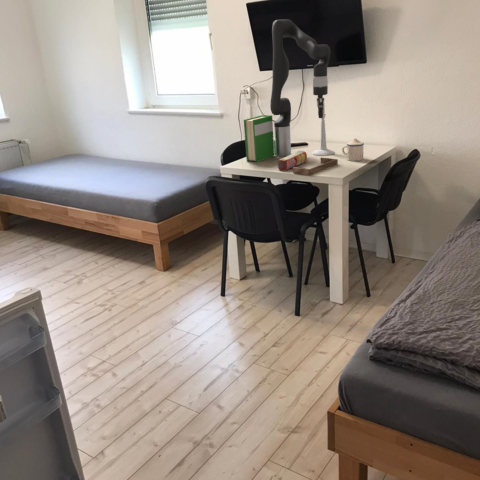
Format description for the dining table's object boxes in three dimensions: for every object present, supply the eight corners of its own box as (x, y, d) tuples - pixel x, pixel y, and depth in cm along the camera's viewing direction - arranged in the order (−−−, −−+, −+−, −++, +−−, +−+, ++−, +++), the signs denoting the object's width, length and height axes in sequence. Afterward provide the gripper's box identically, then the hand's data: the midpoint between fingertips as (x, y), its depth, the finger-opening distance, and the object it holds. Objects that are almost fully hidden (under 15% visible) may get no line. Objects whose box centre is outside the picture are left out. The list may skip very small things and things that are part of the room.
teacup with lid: (365, 158, 288) (366, 137, 283) (360, 161, 280) (360, 140, 276) (345, 157, 293) (345, 136, 289) (339, 160, 286) (339, 139, 282)
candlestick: (333, 150, 312) (333, 99, 302) (335, 155, 301) (334, 102, 290) (312, 152, 314) (310, 101, 303) (313, 156, 302) (311, 103, 292)
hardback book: (256, 162, 299) (253, 120, 290) (246, 161, 303) (243, 119, 295) (274, 155, 312) (272, 115, 303) (264, 155, 316) (261, 115, 308)
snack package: (287, 171, 273) (287, 158, 271) (276, 170, 277) (276, 158, 274) (307, 162, 289) (307, 150, 286) (297, 161, 292) (297, 150, 290)
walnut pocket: (293, 173, 267) (292, 167, 266) (321, 162, 285) (321, 157, 284) (309, 175, 261) (309, 169, 260) (337, 164, 278) (337, 159, 277)
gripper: (312, 84, 278) (313, 115, 284) (313, 87, 265) (313, 119, 271) (327, 83, 277) (327, 114, 283) (328, 86, 264) (328, 118, 270)
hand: (320, 116), depth 277 cm, fingers open, 8 cm apart
